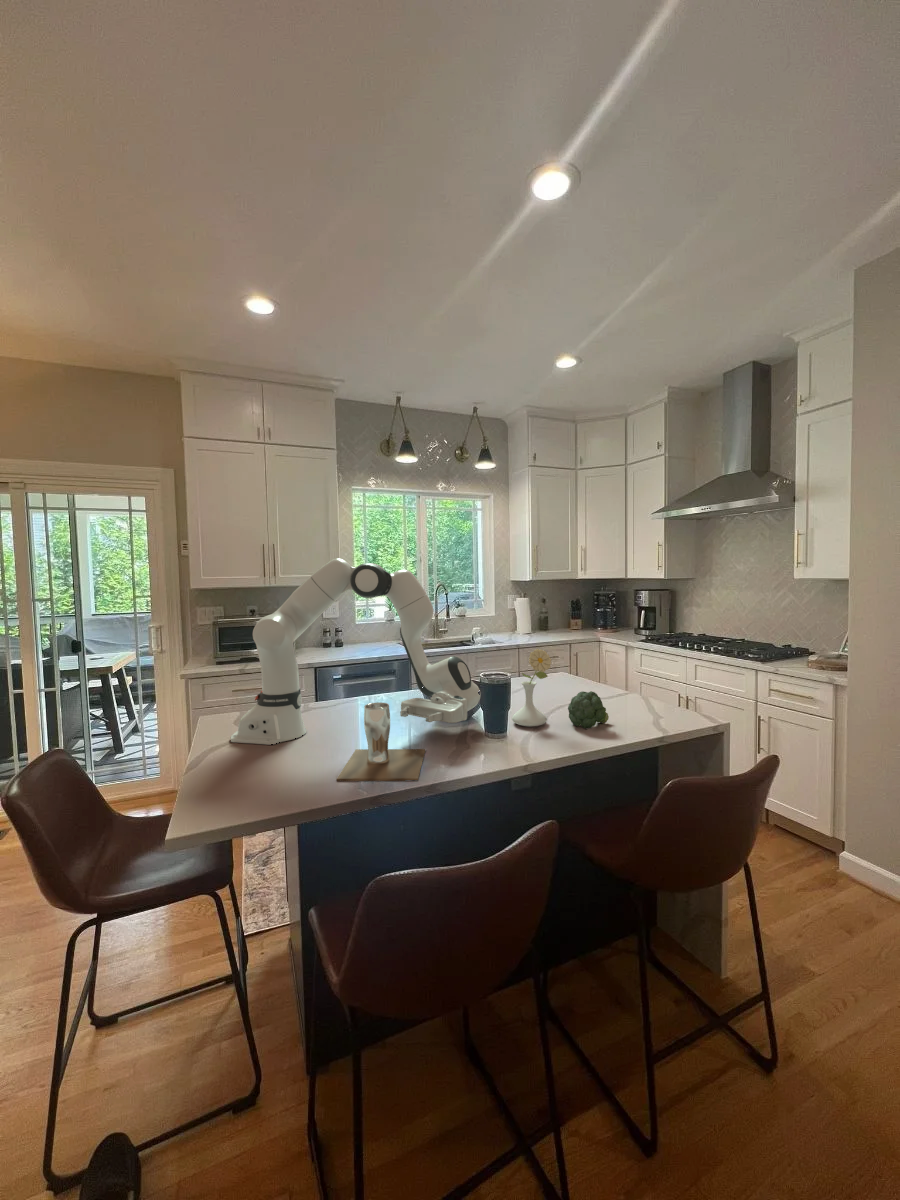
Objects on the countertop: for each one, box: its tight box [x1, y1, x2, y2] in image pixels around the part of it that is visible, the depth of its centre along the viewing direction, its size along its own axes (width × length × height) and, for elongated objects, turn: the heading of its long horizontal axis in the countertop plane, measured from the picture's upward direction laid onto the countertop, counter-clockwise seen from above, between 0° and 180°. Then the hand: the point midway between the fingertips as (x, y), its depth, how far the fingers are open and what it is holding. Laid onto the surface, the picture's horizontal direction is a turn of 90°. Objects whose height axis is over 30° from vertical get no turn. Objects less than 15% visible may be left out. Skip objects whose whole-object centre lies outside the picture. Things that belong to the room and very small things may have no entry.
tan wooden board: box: [336, 748, 426, 782], centre depth 131 cm, size 20×20×1 cm
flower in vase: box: [511, 648, 552, 727], centre depth 162 cm, size 13×11×25 cm
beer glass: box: [363, 702, 391, 765], centre depth 132 cm, size 7×7×15 cm
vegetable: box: [567, 690, 610, 729], centre depth 159 cm, size 12×13×15 cm
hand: (414, 716), depth 141 cm, fingers open, 8 cm apart
